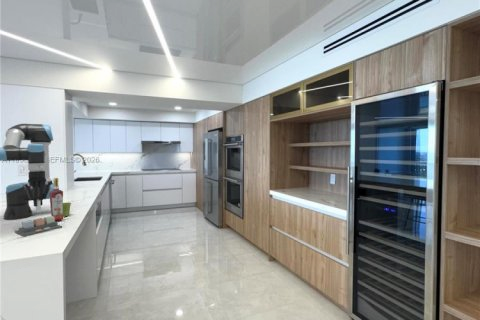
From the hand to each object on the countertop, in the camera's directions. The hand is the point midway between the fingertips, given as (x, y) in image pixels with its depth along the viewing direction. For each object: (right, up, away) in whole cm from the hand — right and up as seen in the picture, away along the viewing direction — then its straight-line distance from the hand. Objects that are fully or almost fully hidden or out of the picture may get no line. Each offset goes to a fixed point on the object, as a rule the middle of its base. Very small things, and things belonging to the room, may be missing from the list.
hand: (38, 211), depth 147 cm
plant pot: (-7, -10, +32) cm, 34 cm away
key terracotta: (0, -8, +1) cm, 8 cm away
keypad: (0, -11, +1) cm, 11 cm away
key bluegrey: (-3, -8, -4) cm, 9 cm away
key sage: (+3, -8, +5) cm, 9 cm away
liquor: (-4, -10, +20) cm, 23 cm away
